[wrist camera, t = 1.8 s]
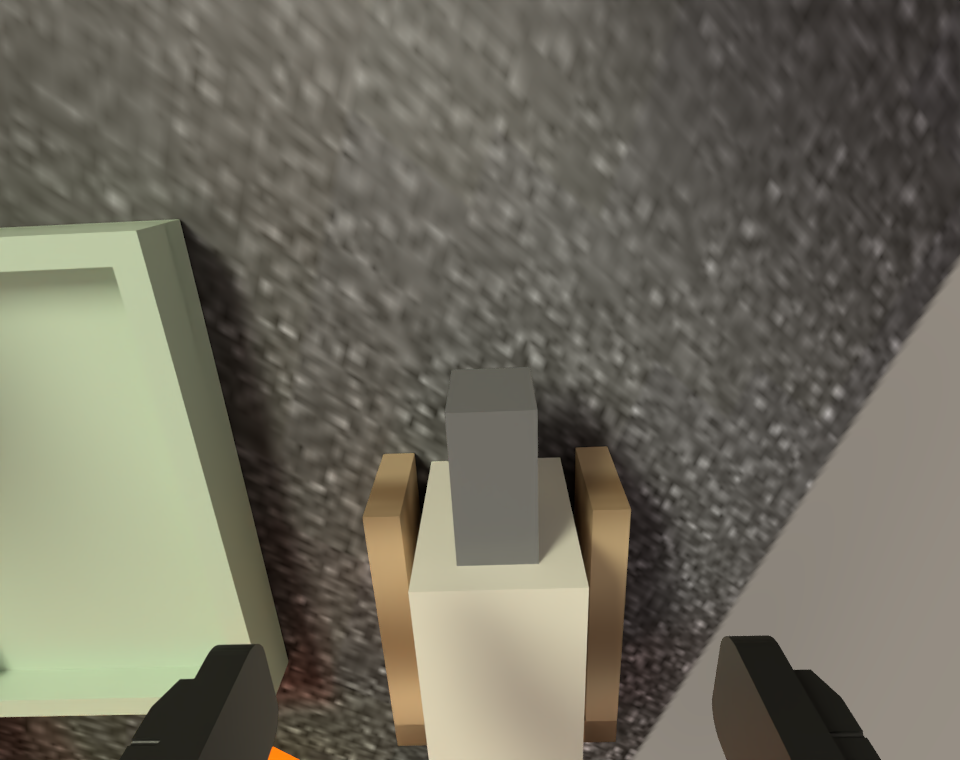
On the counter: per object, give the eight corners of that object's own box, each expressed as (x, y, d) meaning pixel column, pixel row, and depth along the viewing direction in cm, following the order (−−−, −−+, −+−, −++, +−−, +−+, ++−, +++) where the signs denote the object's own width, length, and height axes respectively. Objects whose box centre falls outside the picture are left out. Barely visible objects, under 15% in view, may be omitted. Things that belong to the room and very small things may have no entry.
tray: (-230, 238, 19) (-328, 252, 17) (179, 219, 19) (136, 230, 16) (-4, 668, 27) (-50, 718, 25) (288, 661, 27) (269, 711, 24)
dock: (383, 454, 22) (362, 517, 18) (606, 446, 22) (631, 509, 18) (410, 660, 26) (398, 745, 23) (597, 656, 26) (615, 741, 22)
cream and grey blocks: (420, 339, 20) (388, 433, 14) (561, 333, 20) (594, 426, 14) (447, 632, 26) (433, 796, 19) (558, 629, 26) (581, 795, 19)
